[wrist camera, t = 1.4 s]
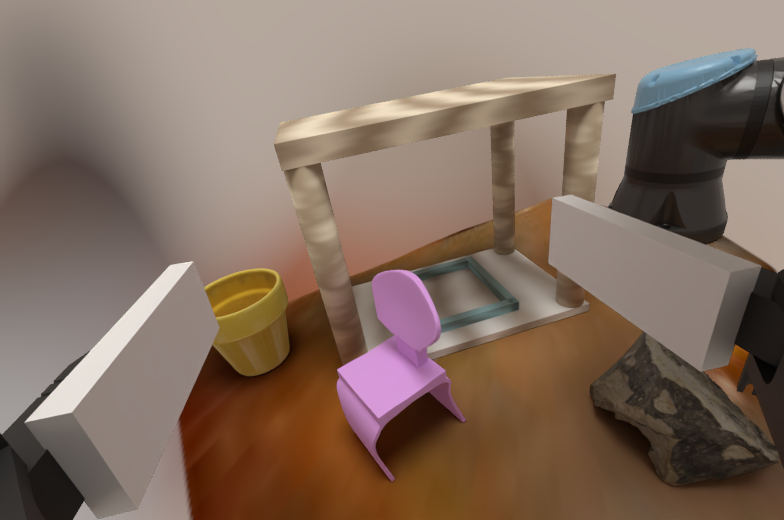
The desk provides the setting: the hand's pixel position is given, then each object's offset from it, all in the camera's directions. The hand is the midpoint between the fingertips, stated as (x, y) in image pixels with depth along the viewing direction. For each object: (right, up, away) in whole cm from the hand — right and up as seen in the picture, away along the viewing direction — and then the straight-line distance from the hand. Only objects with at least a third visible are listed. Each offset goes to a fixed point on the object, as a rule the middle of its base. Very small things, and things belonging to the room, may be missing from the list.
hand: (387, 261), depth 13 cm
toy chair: (+2, -15, +20) cm, 25 cm away
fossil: (+23, -14, +16) cm, 31 cm away
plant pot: (-16, -12, +31) cm, 37 cm away
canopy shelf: (+7, -6, +35) cm, 36 cm away
